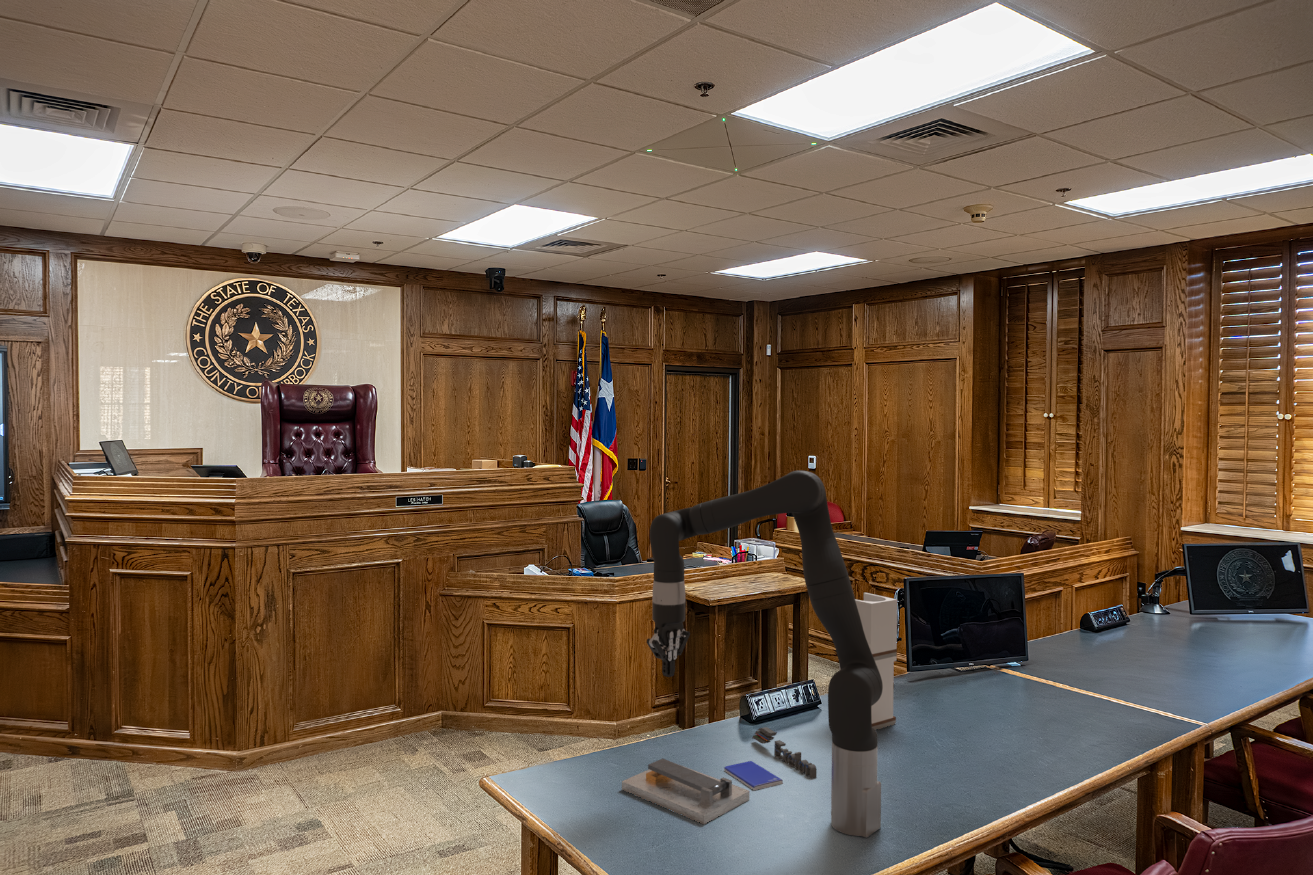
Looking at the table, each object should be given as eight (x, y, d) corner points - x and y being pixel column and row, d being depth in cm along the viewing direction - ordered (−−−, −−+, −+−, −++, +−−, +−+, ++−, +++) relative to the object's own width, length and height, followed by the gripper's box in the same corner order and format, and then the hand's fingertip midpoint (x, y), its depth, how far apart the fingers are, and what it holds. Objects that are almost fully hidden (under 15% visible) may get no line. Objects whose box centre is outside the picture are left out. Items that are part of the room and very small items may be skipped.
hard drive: (782, 778, 193) (752, 760, 204) (753, 785, 189) (724, 766, 200) (782, 785, 193) (752, 766, 204) (753, 792, 189) (724, 772, 200)
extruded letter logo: (751, 743, 218) (752, 721, 218) (756, 742, 219) (757, 720, 219) (811, 779, 196) (811, 755, 196) (816, 777, 197) (816, 754, 197)
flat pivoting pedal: (726, 790, 182) (727, 782, 182) (712, 798, 178) (712, 789, 178) (662, 764, 194) (662, 756, 194) (648, 770, 191) (648, 762, 191)
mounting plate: (749, 799, 184) (749, 777, 184) (703, 824, 172) (704, 800, 172) (668, 768, 200) (668, 748, 200) (621, 789, 189) (621, 768, 189)
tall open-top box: (895, 724, 232) (897, 599, 232) (869, 731, 226) (871, 603, 226) (864, 712, 242) (865, 592, 242) (838, 719, 236) (840, 596, 236)
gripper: (661, 606, 182) (661, 685, 182) (700, 598, 192) (699, 673, 192) (636, 602, 187) (636, 678, 187) (675, 593, 197) (675, 666, 197)
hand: (668, 675), depth 190 cm, fingers closed
